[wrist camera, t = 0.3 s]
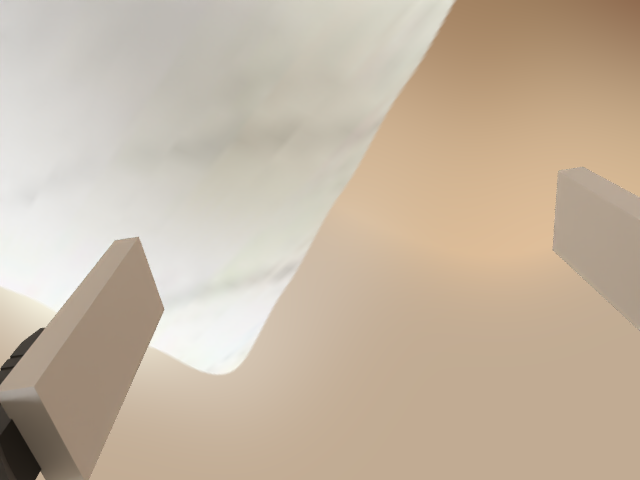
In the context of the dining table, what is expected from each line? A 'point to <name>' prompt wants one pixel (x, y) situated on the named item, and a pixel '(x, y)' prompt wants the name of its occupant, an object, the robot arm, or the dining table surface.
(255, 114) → the dining table surface
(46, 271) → the dining table surface
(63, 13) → the dining table surface
